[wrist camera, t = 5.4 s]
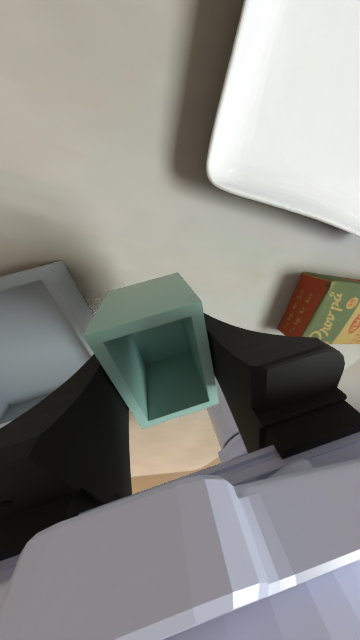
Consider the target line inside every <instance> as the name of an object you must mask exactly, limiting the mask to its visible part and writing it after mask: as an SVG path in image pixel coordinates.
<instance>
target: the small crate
mask: <svg viewBox="0 0 360 640" xmlns="http://www.w3.org/2000/svg"><path fill="white" fill-rule="evenodd" d="M83 337H84V338H85V340H86V342H87V343H88V345H89V346H90V348H91V349H92V351H93V353H94V354H95V356H96V357H97V359H98V360H99V362H100V364H101V365H102V367H103V368H104V370H105V371H106V373H107V375H108V376H109V378H110V379H111V381H112V382H113V384H114V386H115V387H116V389H117V390H118V392H119V393H120V395H121V397H122V398H123V400H124V401H125V403H126V404H127V406H128V408H129V409H130V411H131V412H132V414H133V415H134V417H135V419H136V420H137V422H138V423H139V425H140V426H141V428H142V429H144V428H147V427H150V426H153V425H156V424H159V423H162V422H165V421H168V420H171V419H174V418H178V417H181V416H184V415H187V414H190V413H193V412H196V411H199V410H202V409H205V408H208V407H211V406H214V405H217V404H219V400H218V394H217V389H216V383H215V377H214V371H213V365H212V360H211V354H210V348H209V342H208V336H207V331H206V325H205V319H204V313H203V307H202V302H201V300H200V299H199V298H198V296H197V295H196V294H195V293H194V292H193V290H192V289H191V288H190V287H189V285H188V284H187V283H186V282H185V281H184V279H183V278H182V277H181V276H180V275H179V273H174V274H171V275H167V276H163V277H160V278H156V279H153V280H149V281H145V282H142V283H138V284H135V285H131V286H127V287H124V288H120V289H117V290H113V291H109V292H108V293H107V295H106V296H105V298H104V300H103V301H102V303H101V305H100V307H99V308H98V310H97V312H96V314H95V315H94V317H93V319H92V320H91V322H90V324H89V326H88V327H87V329H86V331H85V332H84V334H83Z"/></svg>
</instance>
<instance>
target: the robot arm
mask: <svg viewBox="0 0 360 640" xmlns="http://www.w3.org/2000/svg"><path fill="white" fill-rule="evenodd" d="M204 319H205V325H206V331H207V336H208V342H209V348H210V354H211V360H212V365H213V371H214V377H215V383H216V389H217V394H218V400H219V404H217V405H214V406H211V407H208V408H207V410H208V413H209V416H210V419H211V421H212V424H213V427H214V430H215V433H216V435H217V438H218V441H219V444H220V447H221V449H222V450H221V451H219V452H218V455H219V458H220V461H221V463H220V464H217V465H215V466H212V467H209V468H206V469H203V470H200V471H198V472H195V473H192V474H189V475H186V476H183V477H181V478H178V479H175V480H172V481H169V482H167V483H164V484H161V485H158V486H155V487H152V488H150V489H147V490H144V491H141V492H138V493H135V494H133V495H132V487H131V473H130V454H129V408H128V406H127V404H126V403H125V401H124V400H123V398H122V397H121V395H120V393H119V392H118V390H117V389H116V387H115V386H114V384H113V382H112V381H111V379H110V378H109V376H108V375H107V373H106V371H105V370H104V368H103V367H102V365H101V364H100V362H99V360H98V359H97V357H96V356H95V354H93V355H92V356H91V358H90V359H89V360H88V361H87V362H86V363H85V364H84V365H83V366H82V367H81V368H80V369H79V370H78V371H77V372H76V373H75V374H73V375H72V376H71V377H70V378H69V379H68V380H67V381H66V382H64V383H63V384H62V385H61V386H60V387H58V388H57V389H56V390H55V391H53V392H52V393H51V394H49V395H48V396H47V397H45V398H44V399H43V400H42V401H40V402H39V403H38V404H36V405H35V406H33V407H32V408H30V409H29V410H28V411H26V412H25V413H23V414H22V415H20V416H19V417H17V418H16V419H14V420H13V421H11V422H10V423H8V424H7V425H5V426H3V427H2V428H0V640H360V413H359V412H358V411H357V410H356V409H354V408H353V407H352V406H351V405H350V404H348V403H347V402H346V401H345V399H346V398H347V397H346V395H345V394H344V393H343V392H342V391H341V390H339V389H338V388H337V386H338V383H339V381H340V378H341V375H342V373H343V370H344V366H345V362H344V356H343V355H342V354H341V353H340V352H339V351H338V350H336V349H335V348H333V347H331V346H330V345H328V344H326V343H325V342H323V341H322V340H320V339H318V338H316V337H295V336H282V335H273V334H266V333H261V332H255V331H250V330H246V329H243V328H239V327H236V326H233V325H230V324H227V323H224V322H222V321H220V320H217V319H215V318H213V317H211V316H209V315H207V314H205V313H204Z"/></svg>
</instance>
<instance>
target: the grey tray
mask: <svg viewBox="0 0 360 640" xmlns="http://www.w3.org/2000/svg"><path fill="white" fill-rule="evenodd" d="M93 317H94V316H93V314H92V312H91V310H90V308H89V307H88V305H87V303H86V301H85V299H84V298H83V296H82V294H81V292H80V290H79V289H78V287H77V285H76V283H75V281H74V280H73V278H72V276H71V274H70V272H69V271H68V269H67V267H66V265H65V263H64V262H63V260H61V261H57V262H53V263H50V264H46V265H42V266H38V267H34V268H30V269H27V270H23V271H19V272H15V273H11V274H8V275H4V276H0V428H2V427H3V426H5V425H7V424H8V423H10V422H11V421H13V420H14V419H16V418H17V417H19V416H20V415H22V414H23V413H25V412H26V411H28V410H29V409H30V408H32V407H33V406H35V405H36V404H38V403H39V402H40V401H42V400H43V399H44V398H45V397H47V396H48V395H49V394H51V393H52V392H53V391H55V390H56V389H57V388H58V387H60V386H61V385H62V384H63V383H64V382H66V381H67V380H68V379H69V378H70V377H71V376H72V375H73V374H75V373H76V372H77V371H78V370H79V369H80V368H81V367H82V366H83V365H84V364H85V363H86V362H87V361H88V360H89V359H90V358H91V356H92V355H93V354H94V353H93V351H92V349H91V348H90V346H89V345H88V343H87V342H86V340H85V338H84V337H83V334H84V332H85V331H86V329H87V327H88V326H89V324H90V322H91V320H92V319H93Z"/></svg>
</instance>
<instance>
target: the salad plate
mask: <svg viewBox="0 0 360 640" xmlns="http://www.w3.org/2000/svg"><path fill="white" fill-rule="evenodd" d="M206 173H207V176H208V179H209V181H210V182H211V183H212V184H213V185H214V186H216V187H217V188H219V189H221V190H224V191H226V192H228V193H231V194H234V195H237V196H241V197H244V198H247V199H251V200H255V201H258V202H261V203H265V204H268V205H271V206H275V207H278V208H282V209H285V210H288V211H291V212H294V213H297V214H301V215H304V216H307V217H310V218H313V219H316V220H319V221H321V222H324V223H327V224H329V225H332V226H335V227H337V228H339V229H342V230H345V231H347V232H349V233H351V234H354V235H356V236H358V237H360V0H244V3H243V7H242V11H241V16H240V20H239V24H238V28H237V31H236V35H235V39H234V43H233V48H232V53H231V57H230V60H229V64H228V68H227V72H226V76H225V80H224V84H223V88H222V92H221V96H220V100H219V104H218V108H217V112H216V116H215V121H214V125H213V130H212V134H211V138H210V143H209V148H208V154H207V160H206Z"/></svg>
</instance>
